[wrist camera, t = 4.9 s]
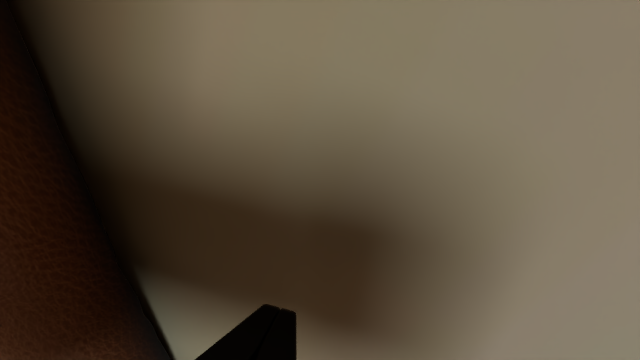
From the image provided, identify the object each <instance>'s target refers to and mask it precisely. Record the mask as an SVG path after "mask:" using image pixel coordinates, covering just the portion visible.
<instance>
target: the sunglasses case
mask: <svg viewBox="0 0 640 360" xmlns="http://www.w3.org/2000/svg"><path fill="white" fill-rule="evenodd" d="M0 360H171V359H170V357H169V356H168V354H167V352H166V350H165V349H164V347H163V345H162V344H161V342H160V341H159V339H158V337H157V334H156V332H155V330H154V327H153V325H152V324H151V322H150V321H149V320H148V319H147V318H146V317H145V316H144V314H143V311H142V307H141V304H140V301H139V299H138V297H137V295H136V294H135V292H134V290H133V289H132V287H131V285H130V284H129V282H128V281H127V279H126V277H125V276H124V274H123V273H122V271H121V270H120V268H119V266H118V265H117V263H116V258H115V254H114V250H113V247H112V245H111V243H110V240H109V238H108V236H107V234H106V232H105V230H104V227H103V225H102V222H101V220H100V217H99V214H98V212H97V209H96V207H95V204H94V202H93V200H92V197H91V195H90V193H89V190H88V188H87V186H86V184H85V181H84V179H83V177H82V175H81V173H80V171H79V169H78V167H77V165H76V163H75V161H74V159H73V157H72V155H71V153H70V151H69V149H68V147H67V145H66V142H65V140H64V138H63V136H62V134H61V132H60V130H59V128H58V126H57V124H56V120H55V117H54V114H53V111H52V108H51V105H50V102H49V99H48V97H47V94H46V92H45V89H44V87H43V85H42V82H41V80H40V77H39V75H38V72H37V70H36V68H35V65H34V63H33V61H32V59H31V56H30V54H29V52H28V50H27V48H26V45H25V43H24V41H23V39H22V36H21V34H20V32H19V30H18V27H17V25H16V23H15V21H14V18H13V16H12V14H11V11H10V9H9V7H8V4H7V2H6V0H0Z"/></svg>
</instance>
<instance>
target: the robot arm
mask: <svg viewBox="0 0 640 360" xmlns="http://www.w3.org/2000/svg"><path fill="white" fill-rule="evenodd" d="M195 360H296V312H294V311H291V310H287V309H283V308H282V309H280V308H279V307H276V306H272V305H269V304H264V305H262V306H261V307H260V308H259V309H257V310H256V311H255V312H254V313H252V314H251V315H250V316H249V317H247V318H246V319H245V320H244V321H242V322H241V323H240V324H239V325H237V326H236V327H235V328H234V329H232V330H231V331H230V332H229V333H227V334H226V335H225V336H224V337H222V338H221V339H220V340H219V341H217V342H216V343H215V344H214V345H213V346H211V347H210V348H209V349H208V350H206V351H205V352H204V353H203V354H201V355H200V356H199V357H198V358H196V359H195Z"/></svg>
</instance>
